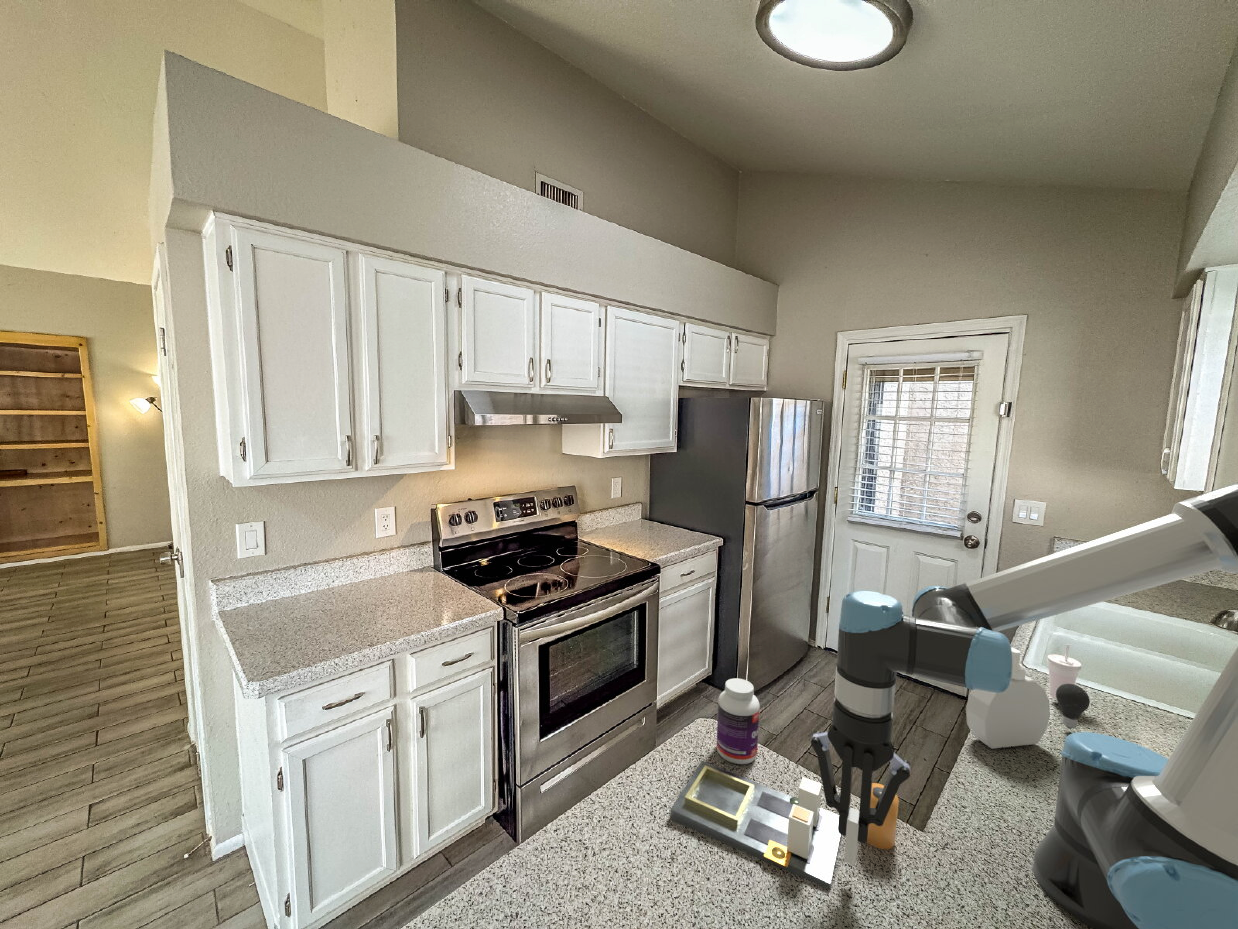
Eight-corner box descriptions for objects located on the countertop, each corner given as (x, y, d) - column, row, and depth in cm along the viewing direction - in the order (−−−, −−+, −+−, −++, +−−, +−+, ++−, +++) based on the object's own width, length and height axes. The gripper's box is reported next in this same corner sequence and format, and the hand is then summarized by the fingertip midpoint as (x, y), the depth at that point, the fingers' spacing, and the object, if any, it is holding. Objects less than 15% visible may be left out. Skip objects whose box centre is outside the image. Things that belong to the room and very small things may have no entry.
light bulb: (1093, 736, 110) (1098, 692, 109) (1067, 735, 110) (1072, 692, 109) (1070, 720, 116) (1075, 679, 115) (1045, 719, 116) (1050, 678, 115)
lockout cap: (895, 836, 83) (899, 789, 82) (893, 859, 79) (898, 809, 78) (861, 823, 85) (865, 777, 85) (858, 844, 81) (862, 796, 80)
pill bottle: (758, 770, 97) (762, 699, 96) (715, 763, 99) (718, 693, 98) (755, 743, 105) (759, 677, 104) (716, 737, 107) (719, 672, 105)
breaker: (819, 814, 84) (821, 784, 83) (816, 827, 81) (818, 795, 81) (800, 807, 86) (802, 776, 85) (796, 819, 83) (798, 788, 82)
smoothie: (1053, 703, 123) (1060, 648, 121) (1036, 689, 129) (1042, 636, 128) (1083, 706, 122) (1090, 650, 120) (1065, 692, 128) (1071, 638, 127)
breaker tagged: (811, 845, 78) (813, 811, 77) (807, 859, 76) (809, 824, 75) (791, 836, 80) (793, 803, 79) (786, 850, 77) (788, 816, 76)
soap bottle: (1023, 728, 113) (1033, 642, 111) (1047, 743, 108) (1058, 653, 105) (960, 734, 110) (969, 646, 108) (982, 750, 105) (992, 658, 103)
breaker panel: (843, 828, 84) (844, 810, 84) (828, 900, 72) (829, 879, 71) (701, 770, 97) (702, 755, 97) (668, 823, 84) (668, 805, 84)
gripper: (917, 705, 71) (903, 858, 74) (818, 678, 78) (808, 819, 80) (916, 733, 65) (900, 901, 67) (809, 701, 71) (798, 854, 74)
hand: (850, 856), depth 74 cm, fingers closed
